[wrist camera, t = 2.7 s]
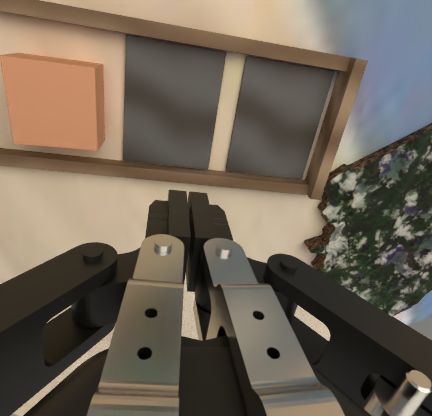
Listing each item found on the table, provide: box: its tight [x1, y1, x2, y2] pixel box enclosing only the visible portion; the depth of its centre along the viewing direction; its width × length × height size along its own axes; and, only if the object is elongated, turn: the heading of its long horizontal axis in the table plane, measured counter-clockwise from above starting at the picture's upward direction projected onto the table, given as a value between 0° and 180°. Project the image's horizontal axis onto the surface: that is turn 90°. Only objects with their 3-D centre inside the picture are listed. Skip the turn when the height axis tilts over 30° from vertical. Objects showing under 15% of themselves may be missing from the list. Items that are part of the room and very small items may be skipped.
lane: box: [0, 0, 368, 200], centre depth 29 cm, size 14×49×4 cm, turn 81°
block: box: [0, 53, 105, 151], centre depth 29 cm, size 7×7×4 cm
